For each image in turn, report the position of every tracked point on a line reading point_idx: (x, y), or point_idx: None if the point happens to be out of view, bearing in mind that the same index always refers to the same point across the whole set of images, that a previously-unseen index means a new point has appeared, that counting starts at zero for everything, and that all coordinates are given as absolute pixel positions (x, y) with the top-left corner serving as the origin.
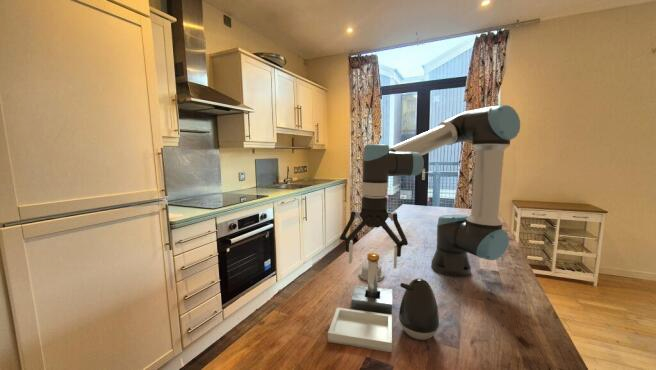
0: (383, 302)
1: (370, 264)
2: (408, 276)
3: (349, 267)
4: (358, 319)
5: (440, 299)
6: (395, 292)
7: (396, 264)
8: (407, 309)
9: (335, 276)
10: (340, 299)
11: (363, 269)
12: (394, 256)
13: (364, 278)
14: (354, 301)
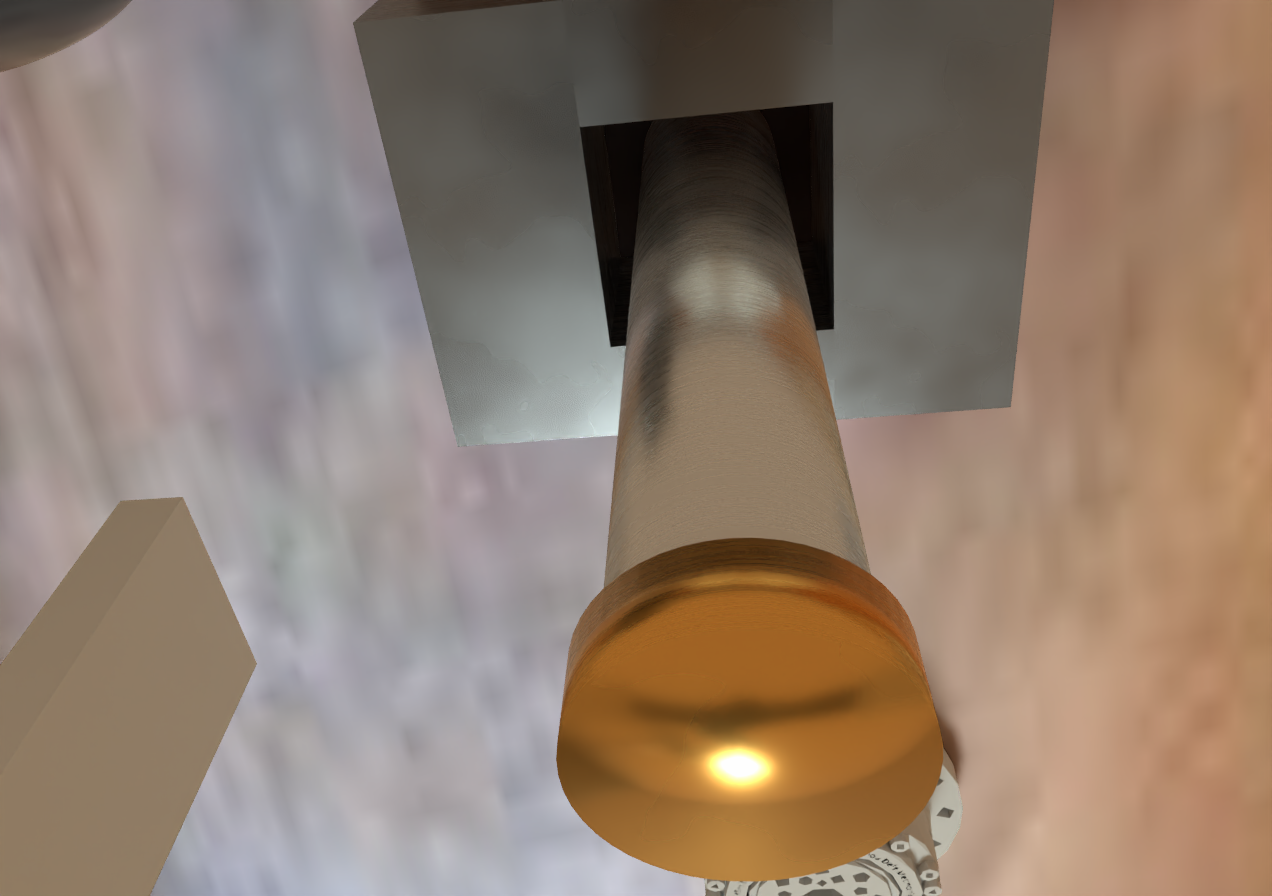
0: (497, 32)
1: (797, 490)
2: (428, 855)
3: (1077, 883)
4: None
5: (13, 558)
6: (492, 561)
7: (70, 572)
8: None
9: (1248, 695)
10: (1172, 220)
11: (917, 830)
12: (8, 755)
13: None
14: None
